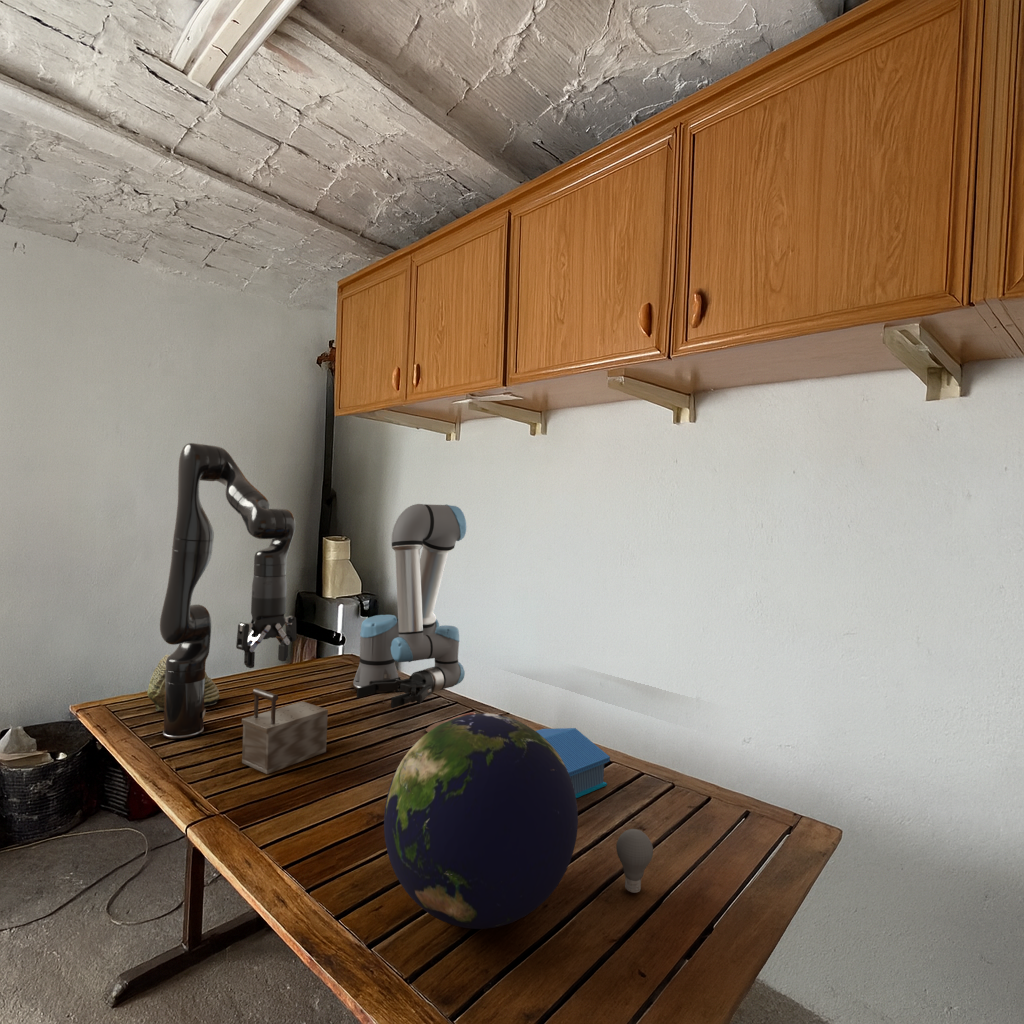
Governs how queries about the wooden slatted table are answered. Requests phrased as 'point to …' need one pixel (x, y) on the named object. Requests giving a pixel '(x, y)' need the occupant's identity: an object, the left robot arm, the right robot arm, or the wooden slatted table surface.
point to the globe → (480, 821)
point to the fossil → (158, 687)
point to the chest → (284, 745)
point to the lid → (280, 713)
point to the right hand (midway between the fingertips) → (374, 698)
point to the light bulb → (634, 857)
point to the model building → (578, 758)
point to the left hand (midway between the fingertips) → (266, 663)
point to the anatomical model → (446, 721)
